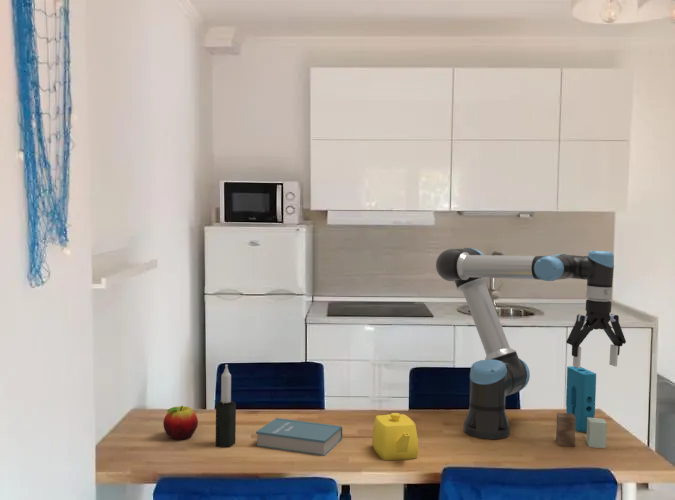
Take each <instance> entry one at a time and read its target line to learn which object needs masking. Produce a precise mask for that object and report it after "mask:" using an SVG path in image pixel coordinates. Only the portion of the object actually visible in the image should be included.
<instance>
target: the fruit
mask: <svg viewBox="0 0 675 500" xmlns="http://www.w3.org/2000/svg"><path fill="white" fill-rule="evenodd" d="M166 412H167V413H166V415H165V416H164V419H163V429H164V432H165V433H166V435H167V436H168V437H169V438H171V439H175V440H184V439H188V438H190V437H192V436H193V434H194V433H195V432H196V430H197V428H198V425H199V424H198V423H199V420H198V415H197V414H196V412H195V411H194V410H193V408H191V407H190V406H184V405H181V406H173V407H170V408H168V409H167V410H166Z"/></svg>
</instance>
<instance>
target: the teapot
mask: <svg viewBox="0 0 675 500" xmlns="http://www.w3.org/2000/svg"><path fill="white" fill-rule="evenodd" d="M371 442H372V446H373V450H374V452H375V453H376V455H378V456H379V458H381V459H382V460H384V461H399V460H400V461H401V460H413V459H417V457H418V455H419V440H418V432H417V426H416V423H415V422H414V421H413V419H412V418H410V417H409V416H408V415H406V414H404V413H403V414H401V413H398V412H392V413H390V414H389V413H388V414H383V415H382V414H381V415H380V414H378V415H376V416H375V419H374V424H373V428H372V439H371Z"/></svg>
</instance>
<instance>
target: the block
mask: <svg viewBox="0 0 675 500" xmlns="http://www.w3.org/2000/svg"><path fill="white" fill-rule="evenodd" d="M565 390H566V392H565V393H566V396H565V397H566V398H565V401H566V402H565V408H566V413H570V414H574V416H575V418H576V421H575V431H577V432H581V433H582V432H583V433H584V432H585V433H587V417H589V418H595V415H596V396H597V395H596V392H597V391H596V390H597V373H596V372H594V371H591V370H589V369H587V368H584V367H583V366H580V368H577V367H575V366H573V365H572V366H571V365H569V366H567V368H566V389H565Z"/></svg>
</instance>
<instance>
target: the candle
mask: <svg viewBox="0 0 675 500" xmlns="http://www.w3.org/2000/svg"><path fill="white" fill-rule="evenodd" d="M228 366H229V365H228V364H225V365H224V367H225V368H224V370H223V373H222V374H221V378H220V380H221V382H220V383H221V388H220V389H221V390H220V391H221V392H220V400H218V402H217V403H216V404H215V446H216V447H223V448H231V447H232V446H235V444H236V427H237V426H236V421H237V418H236V416H237V415H236V413H237V412H236V411H237V403H236V402H235V401H234V400H232V374H231V373H230V370H229V367H228Z"/></svg>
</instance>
